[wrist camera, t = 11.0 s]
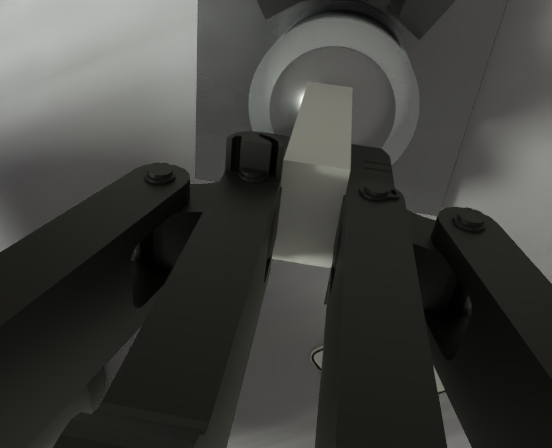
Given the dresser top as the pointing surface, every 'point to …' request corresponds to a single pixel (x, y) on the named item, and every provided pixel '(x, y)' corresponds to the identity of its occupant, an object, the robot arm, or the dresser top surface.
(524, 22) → the dresser top surface
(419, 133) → the dark grey holder
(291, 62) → the cap
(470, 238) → the robot arm
